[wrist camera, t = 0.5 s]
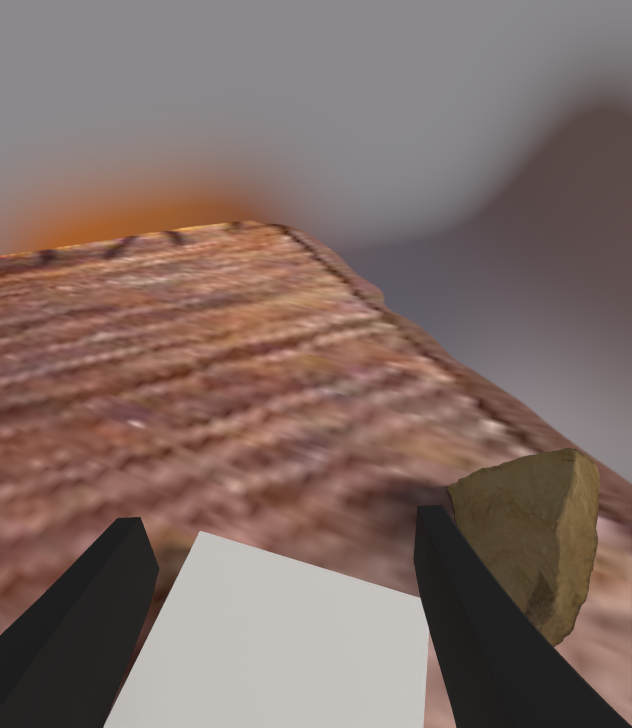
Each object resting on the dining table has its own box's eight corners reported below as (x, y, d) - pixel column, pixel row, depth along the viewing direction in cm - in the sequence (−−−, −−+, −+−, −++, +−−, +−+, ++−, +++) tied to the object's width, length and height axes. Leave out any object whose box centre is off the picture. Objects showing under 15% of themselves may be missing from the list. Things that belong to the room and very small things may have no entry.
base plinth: (387, 1049, 15) (401, 1091, 13) (52, 881, 18) (20, 894, 16) (419, 615, 26) (430, 601, 24) (207, 548, 28) (200, 530, 26)
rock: (627, 690, 22) (623, 518, 27) (585, 628, 18) (591, 443, 23) (441, 626, 29) (468, 501, 35) (383, 572, 25) (425, 442, 31)
